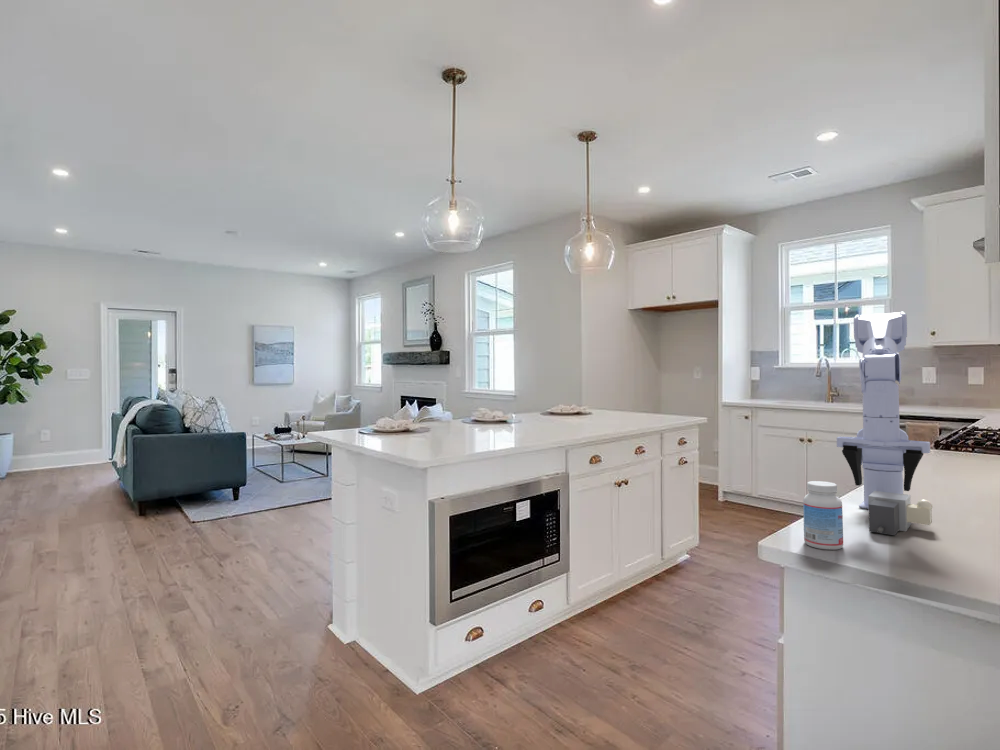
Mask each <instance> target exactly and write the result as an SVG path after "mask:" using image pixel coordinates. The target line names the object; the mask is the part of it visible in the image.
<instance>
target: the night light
mask: <svg viewBox="0 0 1000 750" xmlns="http://www.w3.org/2000/svg"><path fill="white" fill-rule="evenodd" d="M907 522H910V523H911V524H917V525H918V524H919V525H925V526H931V524H932V523H933V504H932V502H930V500H927V499H919V500H918V501H917V502H916V504H915V503H913V504H912V503H911V504H909V505H908V506H907Z"/></svg>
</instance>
